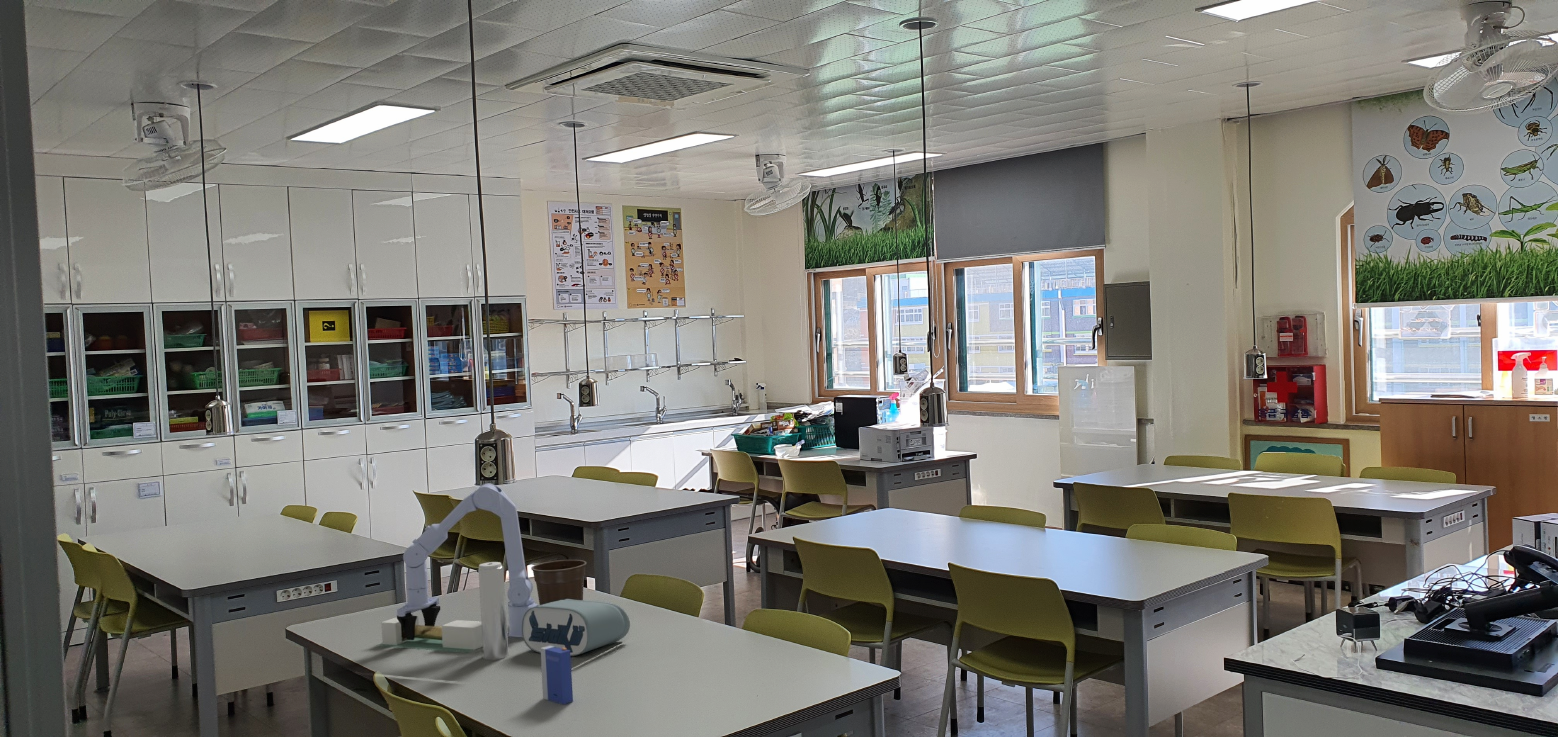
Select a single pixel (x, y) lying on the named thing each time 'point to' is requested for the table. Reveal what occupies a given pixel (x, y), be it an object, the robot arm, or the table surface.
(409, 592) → the robot arm
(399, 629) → the socket
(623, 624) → the pencil case
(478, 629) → the sleeve
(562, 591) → the plant pot
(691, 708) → the table surface
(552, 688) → the walkman
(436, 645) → the mat
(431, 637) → the tube
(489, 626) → the white tall cylinder
